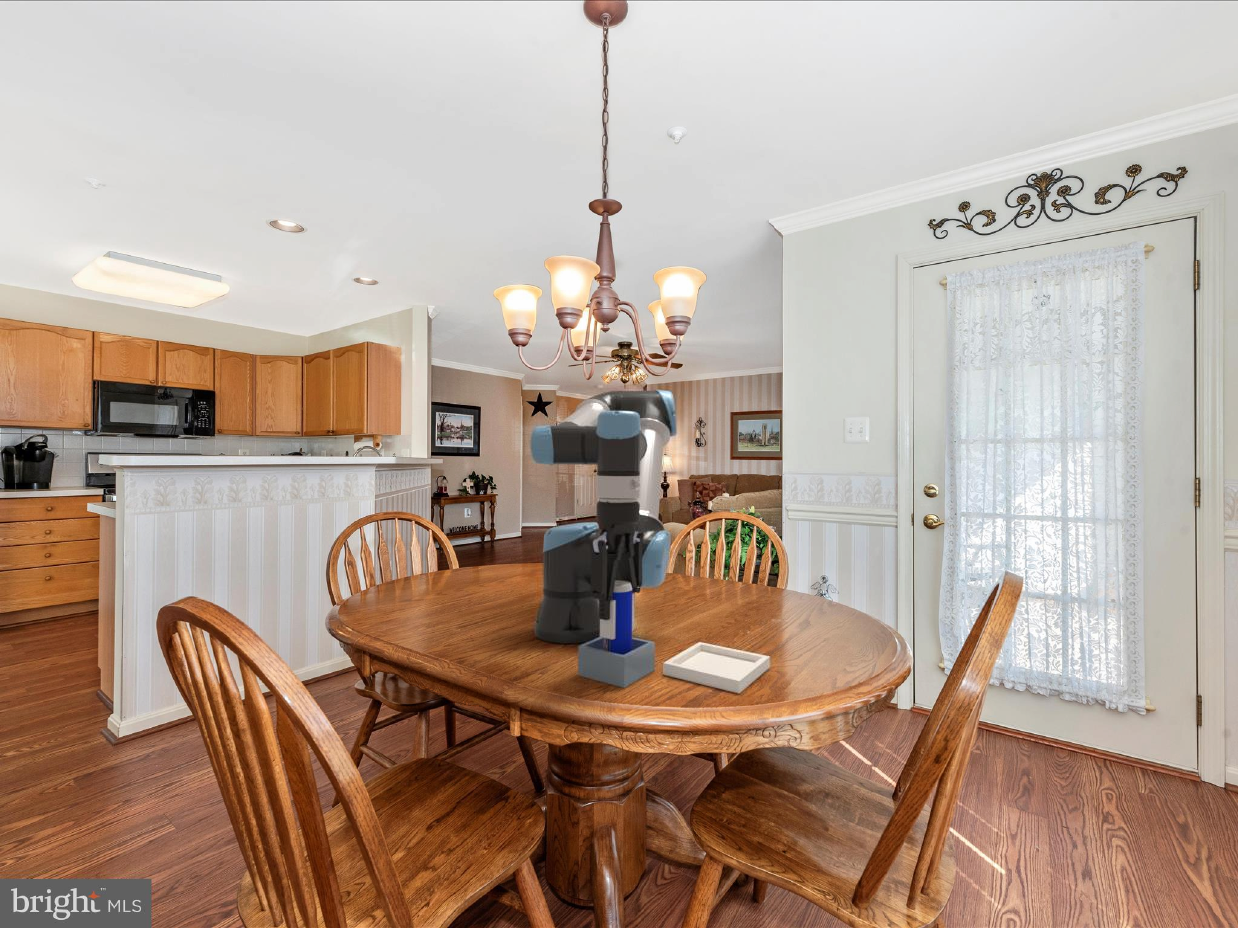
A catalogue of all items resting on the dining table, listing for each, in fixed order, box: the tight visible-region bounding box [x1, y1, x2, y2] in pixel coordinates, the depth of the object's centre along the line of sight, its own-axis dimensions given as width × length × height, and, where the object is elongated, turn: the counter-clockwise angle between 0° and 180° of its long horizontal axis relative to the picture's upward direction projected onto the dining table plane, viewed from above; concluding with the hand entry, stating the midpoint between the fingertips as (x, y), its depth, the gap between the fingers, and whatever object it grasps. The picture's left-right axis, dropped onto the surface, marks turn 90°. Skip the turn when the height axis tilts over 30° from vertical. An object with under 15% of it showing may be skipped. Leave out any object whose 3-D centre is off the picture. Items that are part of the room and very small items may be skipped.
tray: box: [662, 641, 771, 695], centre depth 101 cm, size 14×14×2 cm
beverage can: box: [602, 580, 633, 655], centre depth 100 cm, size 5×5×15 cm
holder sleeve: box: [577, 636, 656, 689], centre depth 100 cm, size 10×10×5 cm
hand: (617, 632), depth 100 cm, fingers closed on beverage can, 5 cm apart
